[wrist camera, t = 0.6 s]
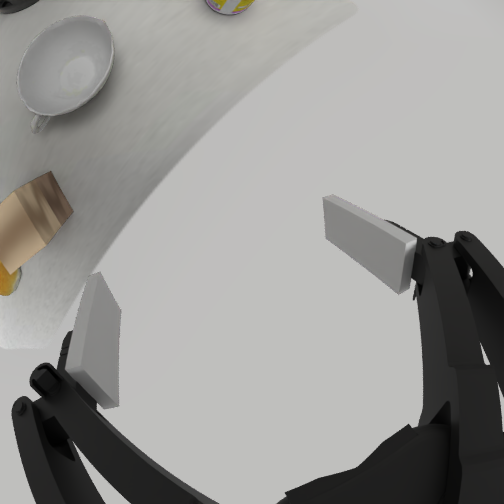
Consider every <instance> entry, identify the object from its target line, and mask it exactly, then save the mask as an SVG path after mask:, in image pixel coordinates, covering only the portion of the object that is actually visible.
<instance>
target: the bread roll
mask: <svg viewBox="0 0 504 504" xmlns="http://www.w3.org/2000/svg"><path fill="white" fill-rule="evenodd" d="M20 276H21V271H20V269H19V268H18V269H17V270H15V271H14V272H13V273H12V274H11V275H10V274H9V272H8V271H7V269H6V268H5V266H4V265H3V264H2V262H1V261H0V295H2V296H8V295H10V294H11V293H12V292H13V291H15V290H16V288H17V286H18V283H19V280H20Z"/></svg>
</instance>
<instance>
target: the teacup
mask: <svg viewBox="0 0 504 504" xmlns="http://www.w3.org/2000/svg"><path fill="white" fill-rule="evenodd" d="M113 62H114V43H113V37H112V34H111V32H110V30H109V28H108V26H107V25H106V23H105V21H103V20H101V19H99V18H97V17H92V16H86V15H81V16H73V17H69V18H65V19H63V20H60V21H58V22H55V23H54V24H52V25H51V26H49V27H48V28H46V29H45V30H44V31H42V32H41V33H40V34H39V35H37V36H36V37H35V38H34V40H33V41H32V42H31V44H30V45H29V46H28V48H27V49H26V51H25V54H24V56H23V58H22V60H21V63H20V66H19V68H18V74H17V82H16V84H17V88H18V93H19V96H20V98H21V99H22V101H23V102H24V105H25V106H26V108H28V109H29V110H30V111H32V112H34V113H36V115H35V116H34V118H33V119H32V122H31V130H32V132H33V133H38V132H40V131H41V130H42V129H43V128H44V127H45V126H46V124H47V123H48V121H49V119H50V117H51V116H57V115H62V114H66V113H69V112H72V111H74V110H76V109H78V108H80V107H81V106H83V105H85V104H86V103H87V102H89V101H90V100H91V99H92V98H93V97H94V96H95V95H96V94H97V93H98V92H99V91H100V90H101V88H102V87H103V86H104V84H105V83H106V81H107V79H108V77H109V75H110V72H111V69H112V66H113ZM42 115H44V116H46V117H45V119H44V121H43V123H42V124H41V125H40V126H39V127H38V122H39V119H40V117H41V116H42Z"/></svg>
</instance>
